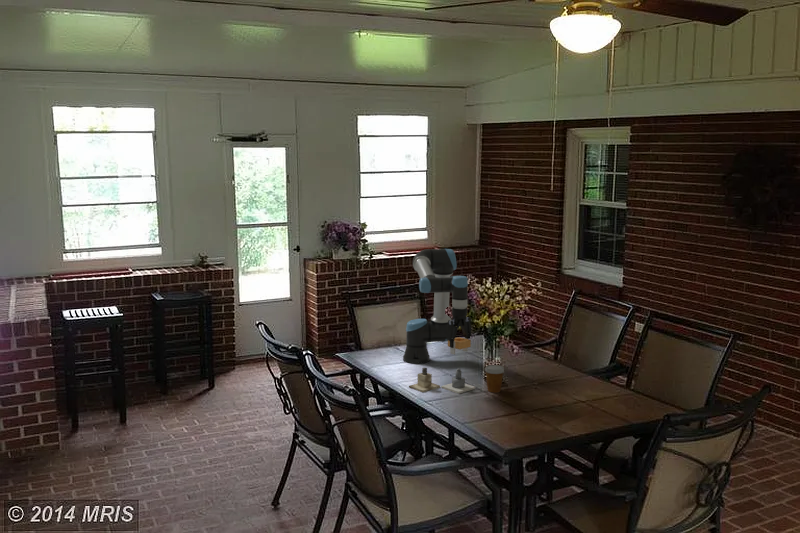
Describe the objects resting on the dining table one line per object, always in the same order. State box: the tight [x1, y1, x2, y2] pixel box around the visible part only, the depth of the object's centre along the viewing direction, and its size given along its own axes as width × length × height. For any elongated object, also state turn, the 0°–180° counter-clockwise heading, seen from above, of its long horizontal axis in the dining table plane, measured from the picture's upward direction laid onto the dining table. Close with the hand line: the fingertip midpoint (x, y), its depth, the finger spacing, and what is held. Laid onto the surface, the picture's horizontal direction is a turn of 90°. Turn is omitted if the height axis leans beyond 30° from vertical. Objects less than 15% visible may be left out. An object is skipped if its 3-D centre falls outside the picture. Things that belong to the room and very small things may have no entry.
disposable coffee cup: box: [484, 364, 505, 394], centre depth 364 cm, size 10×10×12 cm
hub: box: [440, 368, 476, 395], centre depth 367 cm, size 12×12×10 cm
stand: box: [408, 367, 441, 393], centre depth 368 cm, size 12×10×10 cm
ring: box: [447, 336, 472, 350], centre depth 364 cm, size 8×8×4 cm
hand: (459, 352), depth 365 cm, fingers closed on ring, 8 cm apart
